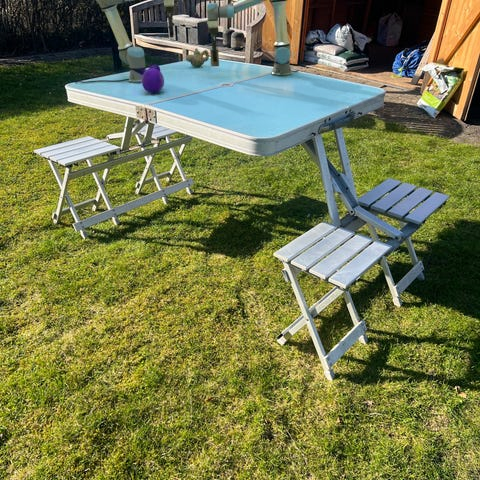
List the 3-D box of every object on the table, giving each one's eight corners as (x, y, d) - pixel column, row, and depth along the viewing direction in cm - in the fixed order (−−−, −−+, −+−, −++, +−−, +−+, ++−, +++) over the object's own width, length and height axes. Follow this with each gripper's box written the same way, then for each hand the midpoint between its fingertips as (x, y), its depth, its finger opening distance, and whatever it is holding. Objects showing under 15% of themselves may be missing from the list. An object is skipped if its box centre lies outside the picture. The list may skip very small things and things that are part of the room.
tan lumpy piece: (189, 69, 379) (188, 50, 372) (184, 67, 388) (182, 48, 380) (212, 66, 388) (211, 47, 381) (206, 64, 397) (205, 46, 389)
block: (218, 65, 342) (217, 48, 336) (219, 66, 338) (218, 49, 332) (211, 65, 342) (210, 48, 336) (211, 66, 337) (210, 49, 331)
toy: (156, 85, 322) (164, 98, 301) (131, 81, 314) (137, 93, 294) (160, 63, 314) (168, 74, 293) (135, 58, 306) (141, 69, 286)
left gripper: (164, 5, 353) (167, 34, 364) (163, 6, 331) (166, 38, 342) (174, 4, 353) (176, 34, 364) (173, 6, 332) (176, 37, 343)
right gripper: (207, 26, 334) (209, 59, 346) (208, 28, 318) (210, 63, 330) (217, 25, 335) (218, 58, 346) (219, 28, 319) (220, 62, 331)
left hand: (171, 36), depth 353 cm, fingers open, 13 cm apart
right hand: (214, 61), depth 338 cm, fingers closed on block, 5 cm apart
